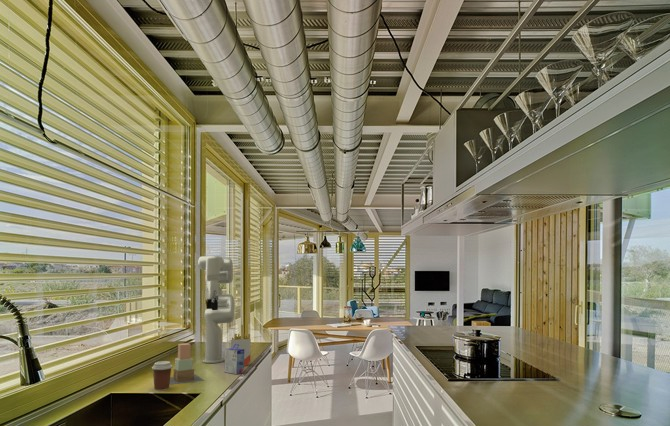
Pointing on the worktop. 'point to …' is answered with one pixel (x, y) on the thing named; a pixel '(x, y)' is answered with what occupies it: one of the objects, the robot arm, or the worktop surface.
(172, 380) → the mat
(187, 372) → the block bottom
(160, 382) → the coffee cup
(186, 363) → the block top
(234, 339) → the french fries container
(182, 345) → the block pick
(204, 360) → the robot arm
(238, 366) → the ink cartridge box
